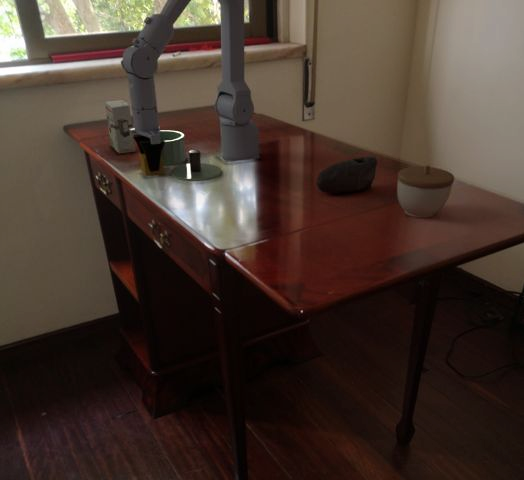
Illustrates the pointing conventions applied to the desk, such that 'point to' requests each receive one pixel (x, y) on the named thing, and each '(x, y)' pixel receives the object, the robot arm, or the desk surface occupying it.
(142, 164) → the block
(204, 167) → the lid
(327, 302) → the desk surface
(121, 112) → the ink box
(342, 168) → the perforated stone tool
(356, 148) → the desk surface
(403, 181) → the trinket box
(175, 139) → the bowl
